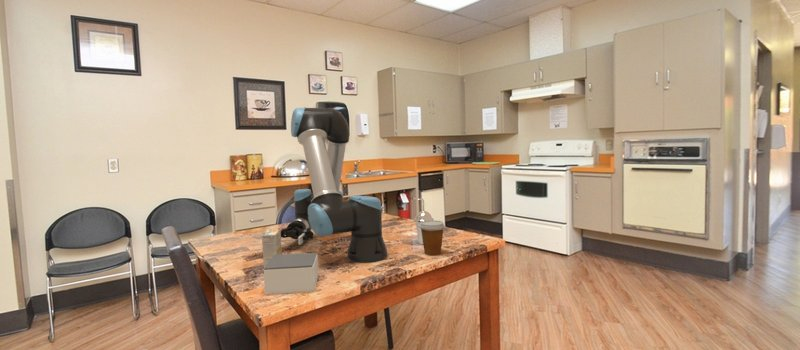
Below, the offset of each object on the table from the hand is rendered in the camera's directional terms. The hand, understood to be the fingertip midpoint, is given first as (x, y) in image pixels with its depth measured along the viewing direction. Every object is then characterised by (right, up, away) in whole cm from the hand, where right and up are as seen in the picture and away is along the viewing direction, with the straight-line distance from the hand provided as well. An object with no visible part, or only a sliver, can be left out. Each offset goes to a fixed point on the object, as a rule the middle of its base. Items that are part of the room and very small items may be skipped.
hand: (281, 241), depth 145 cm
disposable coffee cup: (+57, -6, +4) cm, 58 cm away
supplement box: (0, -8, -9) cm, 12 cm away
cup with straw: (+55, -4, +19) cm, 58 cm away
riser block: (+12, -9, -25) cm, 29 cm away
